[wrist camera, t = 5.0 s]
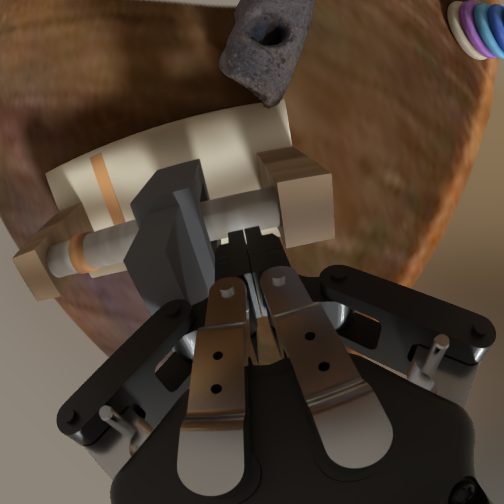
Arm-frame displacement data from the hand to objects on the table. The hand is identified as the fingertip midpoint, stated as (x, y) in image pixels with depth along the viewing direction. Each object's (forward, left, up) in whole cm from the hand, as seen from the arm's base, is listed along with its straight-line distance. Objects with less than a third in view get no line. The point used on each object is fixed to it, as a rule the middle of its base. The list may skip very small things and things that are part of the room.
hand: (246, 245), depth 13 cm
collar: (0, -3, -7) cm, 8 cm away
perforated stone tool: (-13, +5, -12) cm, 18 cm away
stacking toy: (-16, +30, -12) cm, 36 cm away
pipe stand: (0, -6, -12) cm, 13 cm away
